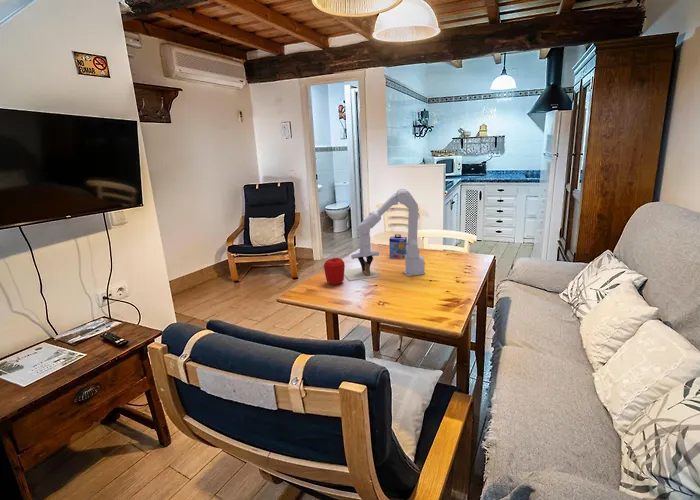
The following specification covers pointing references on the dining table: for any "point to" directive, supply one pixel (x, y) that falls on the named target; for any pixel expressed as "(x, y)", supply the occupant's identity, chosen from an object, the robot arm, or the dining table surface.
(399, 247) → the ink cartridge box
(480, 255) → the dining table surface
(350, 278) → the mat
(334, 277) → the apple
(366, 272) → the tile
